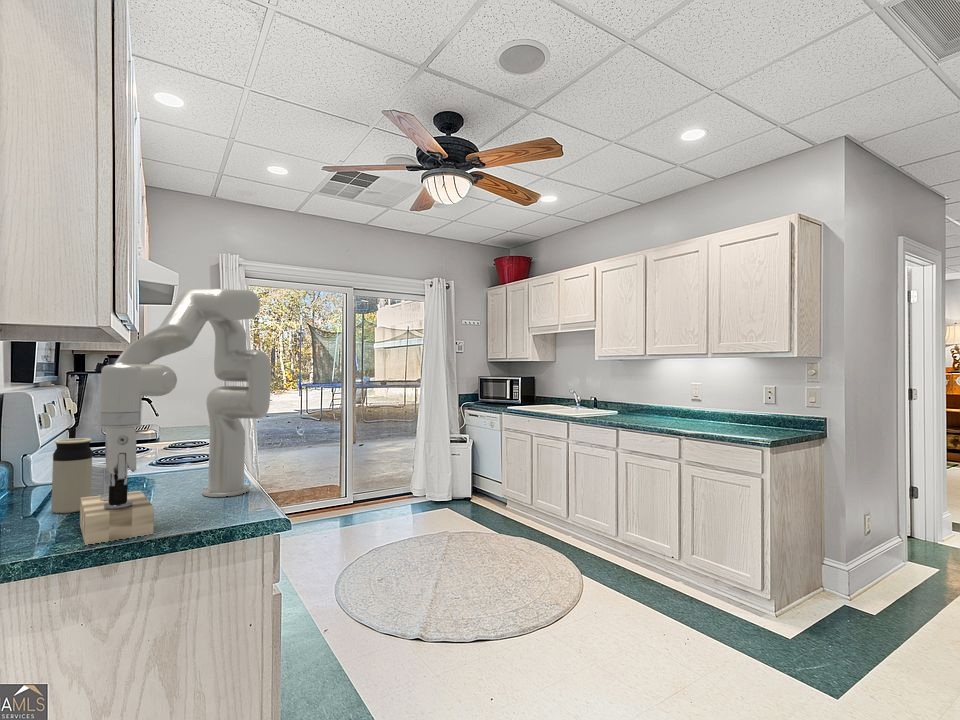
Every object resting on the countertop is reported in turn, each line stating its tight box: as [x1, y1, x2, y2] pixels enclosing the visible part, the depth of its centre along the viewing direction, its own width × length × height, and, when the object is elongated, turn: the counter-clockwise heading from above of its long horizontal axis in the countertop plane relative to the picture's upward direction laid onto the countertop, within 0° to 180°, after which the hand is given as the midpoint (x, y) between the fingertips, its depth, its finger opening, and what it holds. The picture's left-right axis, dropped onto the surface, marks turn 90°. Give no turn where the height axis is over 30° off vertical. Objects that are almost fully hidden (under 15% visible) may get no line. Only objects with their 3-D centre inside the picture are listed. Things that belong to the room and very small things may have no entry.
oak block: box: [79, 490, 155, 546], centre depth 118 cm, size 20×12×6 cm, turn 40°
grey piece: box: [104, 500, 133, 510], centre depth 114 cm, size 5×5×7 cm
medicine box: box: [91, 462, 110, 496], centre depth 149 cm, size 8×4×9 cm, turn 77°
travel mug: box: [50, 437, 93, 514], centre depth 133 cm, size 8×8×18 cm
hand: (117, 503), depth 114 cm, fingers closed
